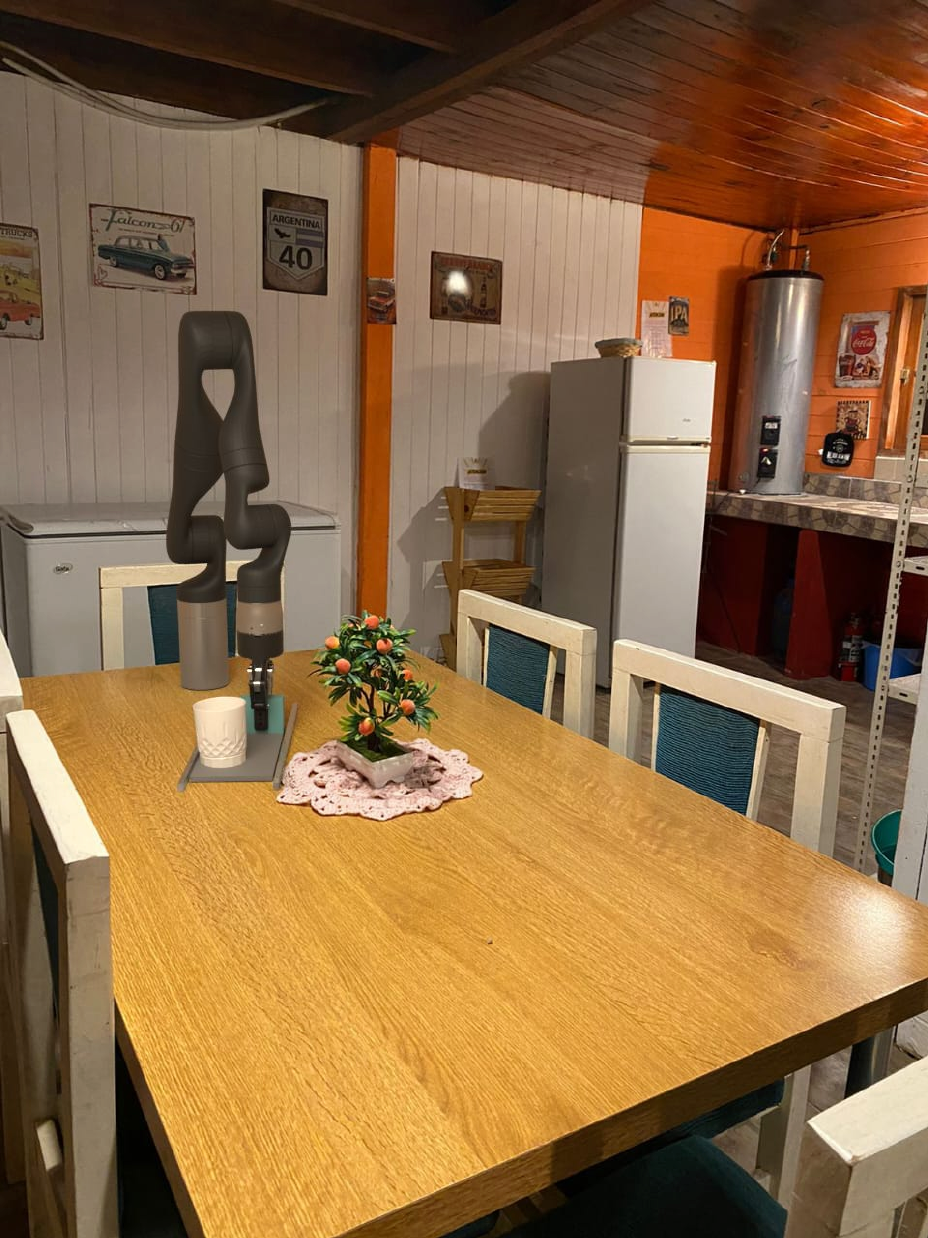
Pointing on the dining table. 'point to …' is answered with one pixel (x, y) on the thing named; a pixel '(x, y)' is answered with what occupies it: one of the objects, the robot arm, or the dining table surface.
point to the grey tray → (252, 748)
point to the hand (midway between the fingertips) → (262, 726)
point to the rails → (280, 766)
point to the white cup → (221, 731)
